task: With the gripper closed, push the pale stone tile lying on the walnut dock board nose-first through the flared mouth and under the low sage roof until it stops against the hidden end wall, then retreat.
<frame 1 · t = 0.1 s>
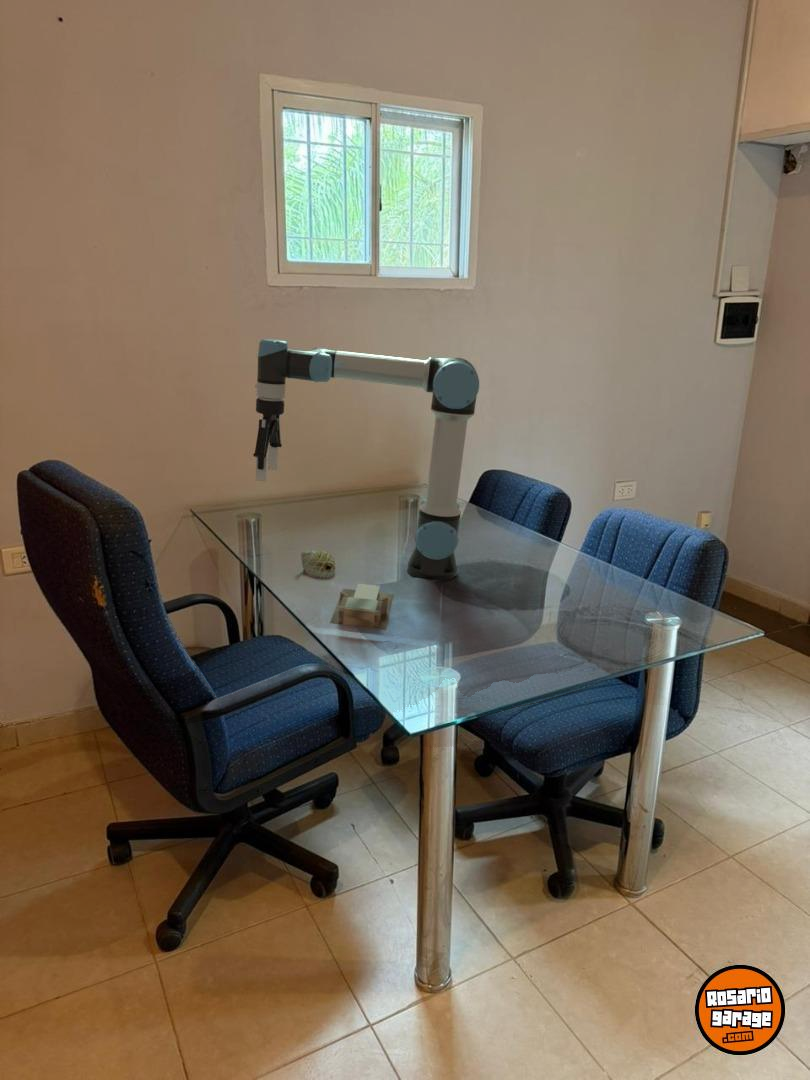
hand: (266, 475, 209), 28 cm above the table, fingers open, 13 cm apart
dock: (363, 612, 195), on the table
tile: (366, 599, 201), point 1 cm above the table, touching dock
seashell: (317, 575, 217), on the table
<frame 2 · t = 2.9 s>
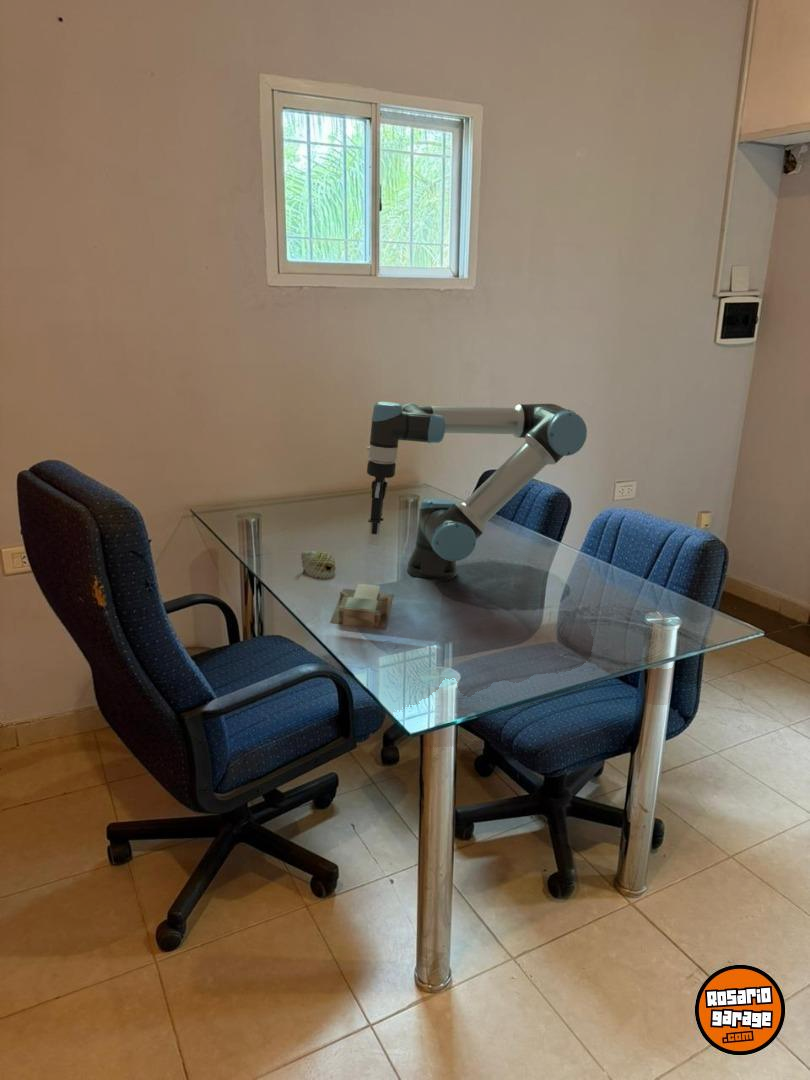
hand: (373, 543, 207), 13 cm above the table, fingers closed
nothing on the table moved.
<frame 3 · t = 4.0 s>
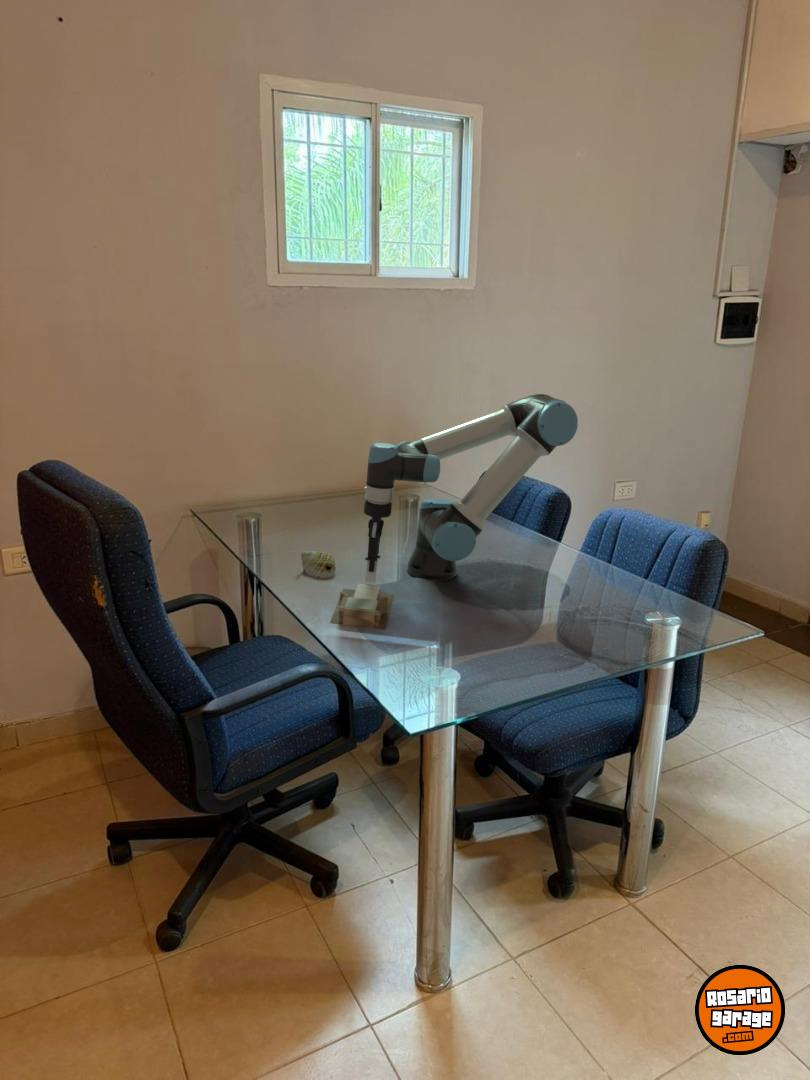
hand: (370, 580, 211), 2 cm above the table, fingers closed
nothing on the table moved.
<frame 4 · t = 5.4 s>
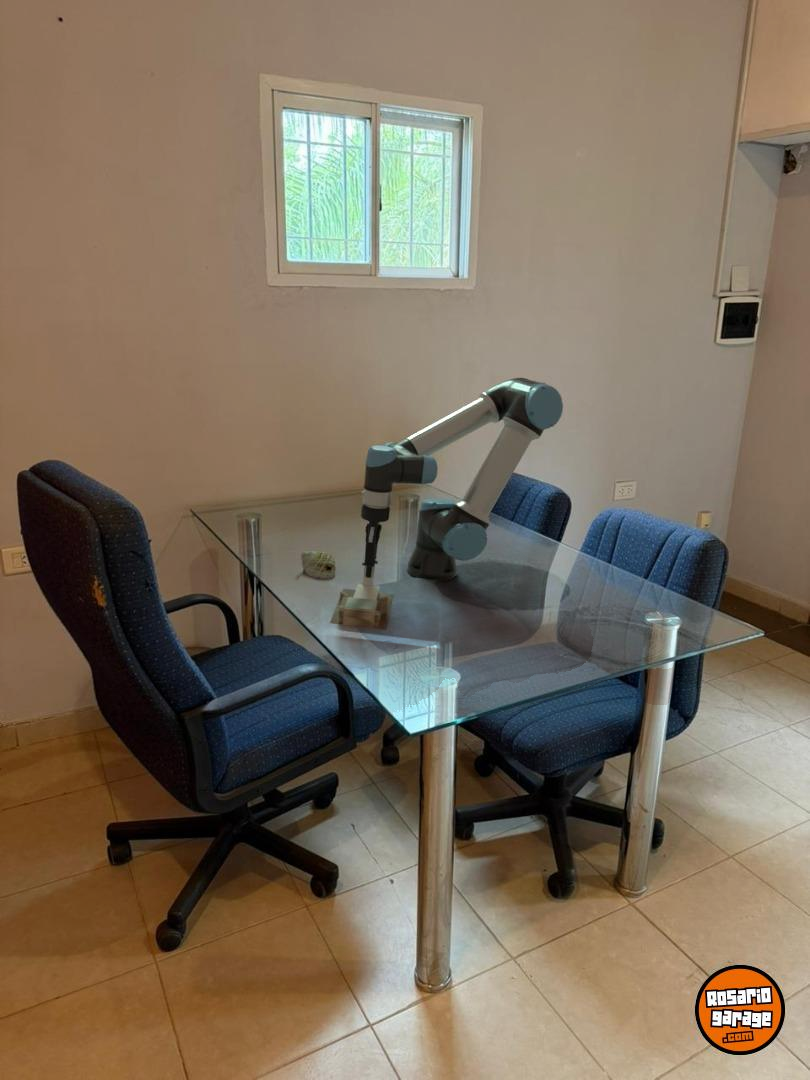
hand: (367, 586, 206), 2 cm above the table, fingers closed
tile: (365, 599, 200), point 1 cm above the table, touching dock, gripper
everything else where it was.
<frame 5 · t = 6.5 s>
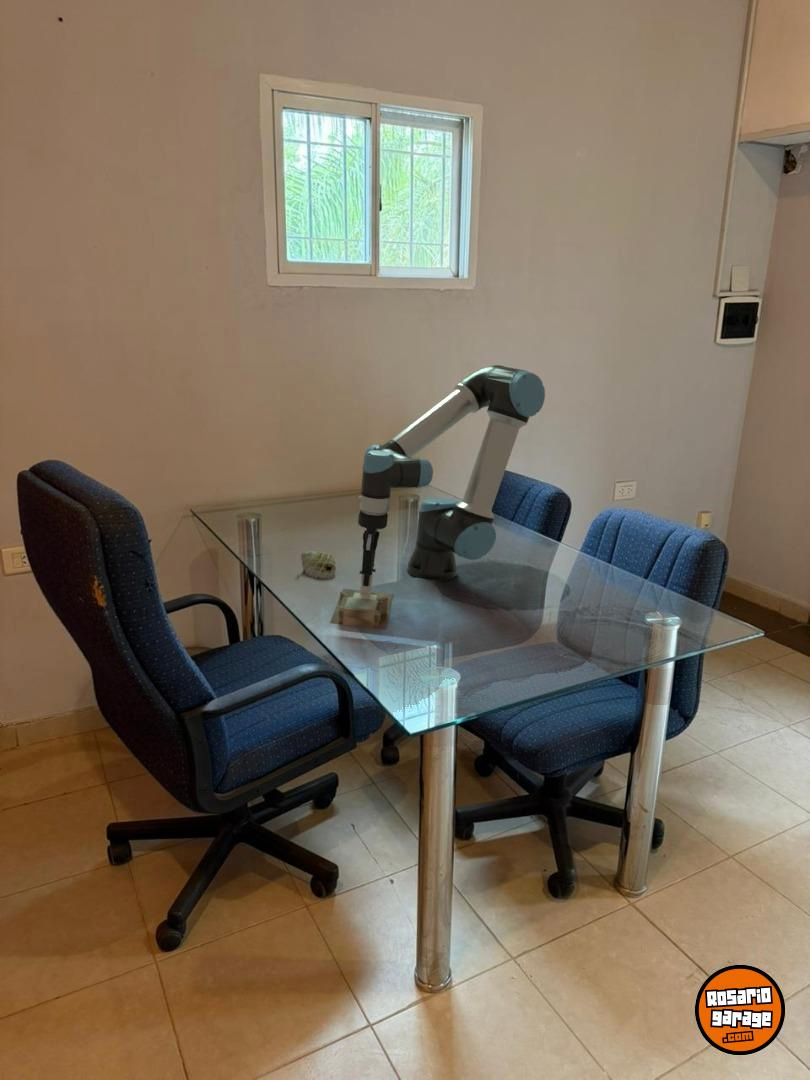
hand: (365, 595, 200), 2 cm above the table, fingers closed
tile: (362, 608, 194), point 1 cm above the table, touching dock, gripper
everything else where it was.
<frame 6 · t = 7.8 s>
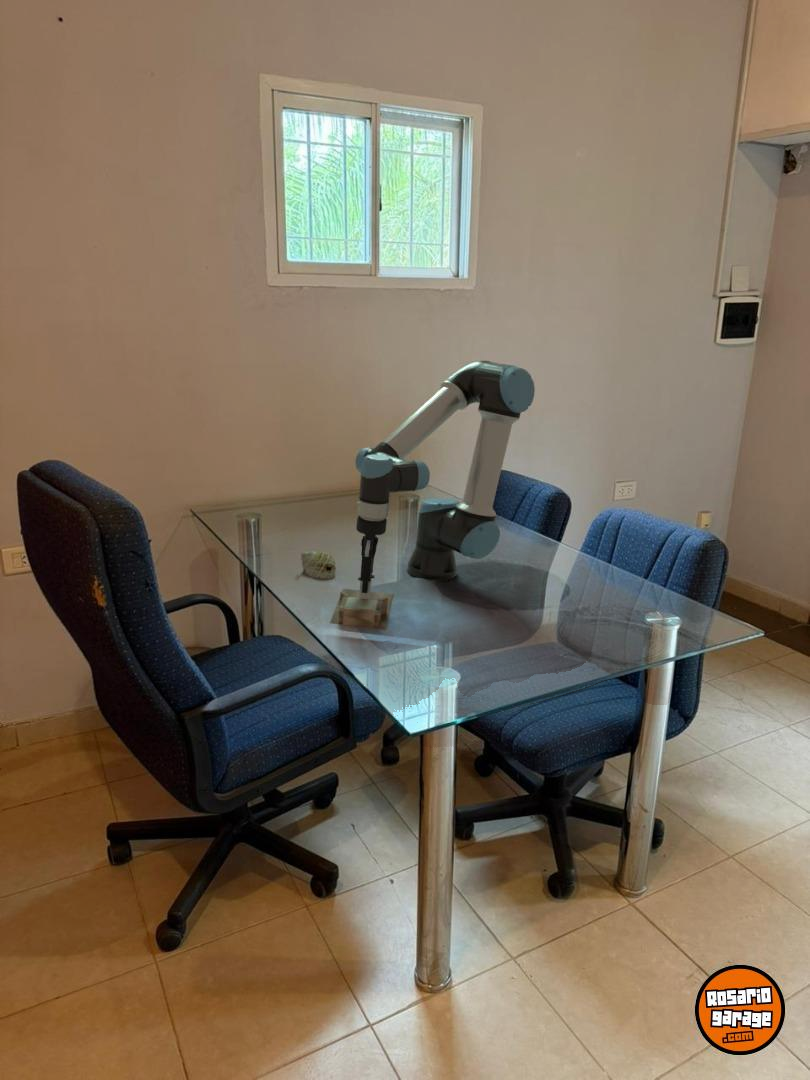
hand: (363, 602, 196), 2 cm above the table, fingers closed
tile: (361, 615, 190), point 1 cm above the table, touching dock, gripper
everything else where it was.
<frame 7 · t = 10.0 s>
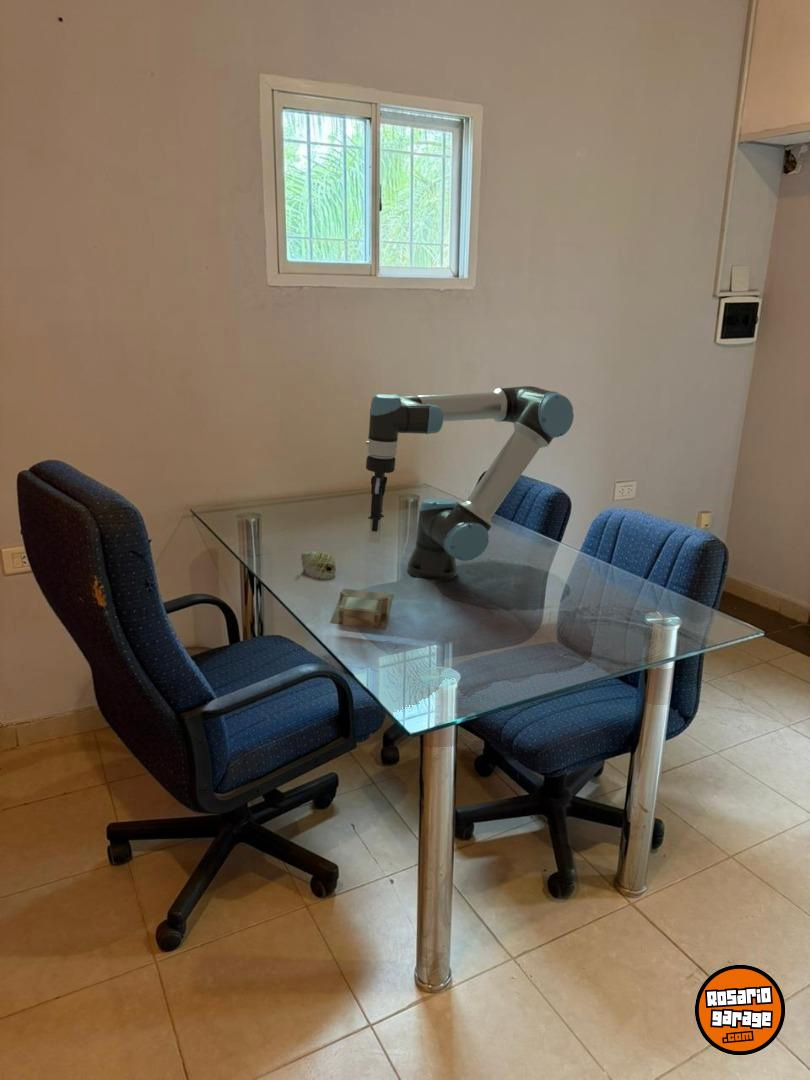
hand: (374, 541, 201), 16 cm above the table, fingers closed
tile: (361, 615, 190), point 1 cm above the table, touching dock
everything else where it was.
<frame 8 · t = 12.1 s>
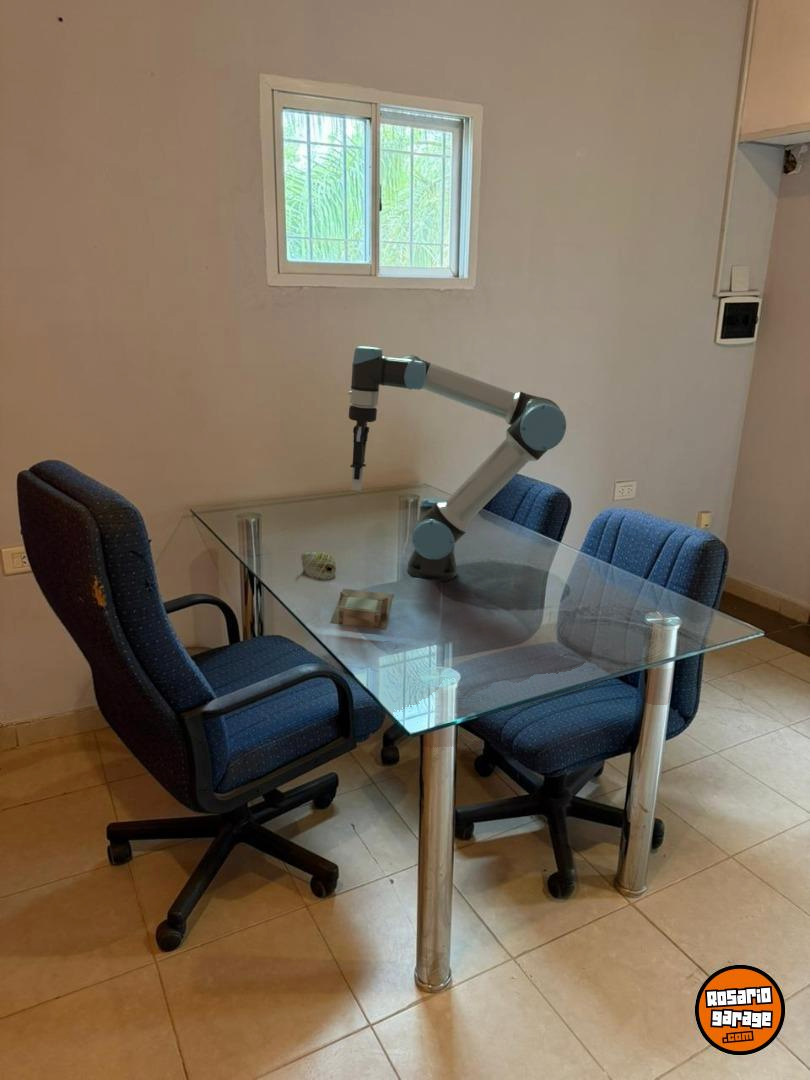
hand: (356, 489, 210), 26 cm above the table, fingers closed
at the end: tile 0.5 cm from the target spot on the dock, point 1.2 cm above the dock's base; tile tilted 0°; tile moved 11.0 cm from its start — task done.
